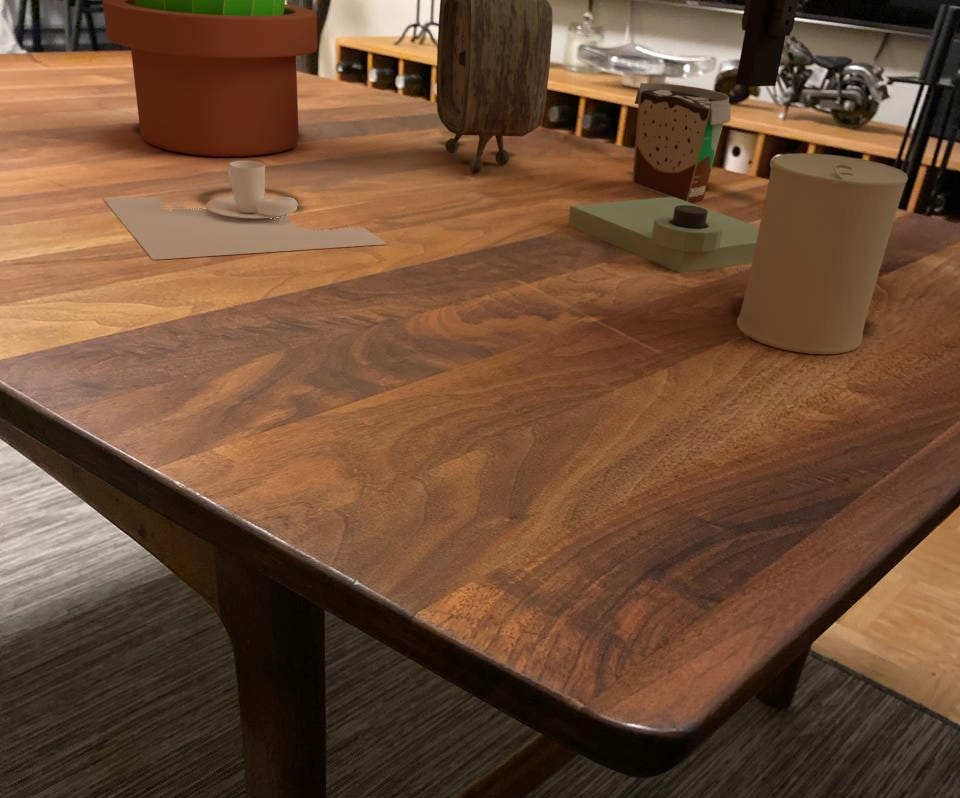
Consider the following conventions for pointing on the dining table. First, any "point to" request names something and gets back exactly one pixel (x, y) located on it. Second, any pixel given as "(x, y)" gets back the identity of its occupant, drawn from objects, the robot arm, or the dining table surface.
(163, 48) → the potted cactus
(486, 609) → the dining table surface
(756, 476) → the dining table surface
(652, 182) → the food container
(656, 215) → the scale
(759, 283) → the can
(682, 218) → the tare button
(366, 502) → the dining table surface
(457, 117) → the tabletop clock
